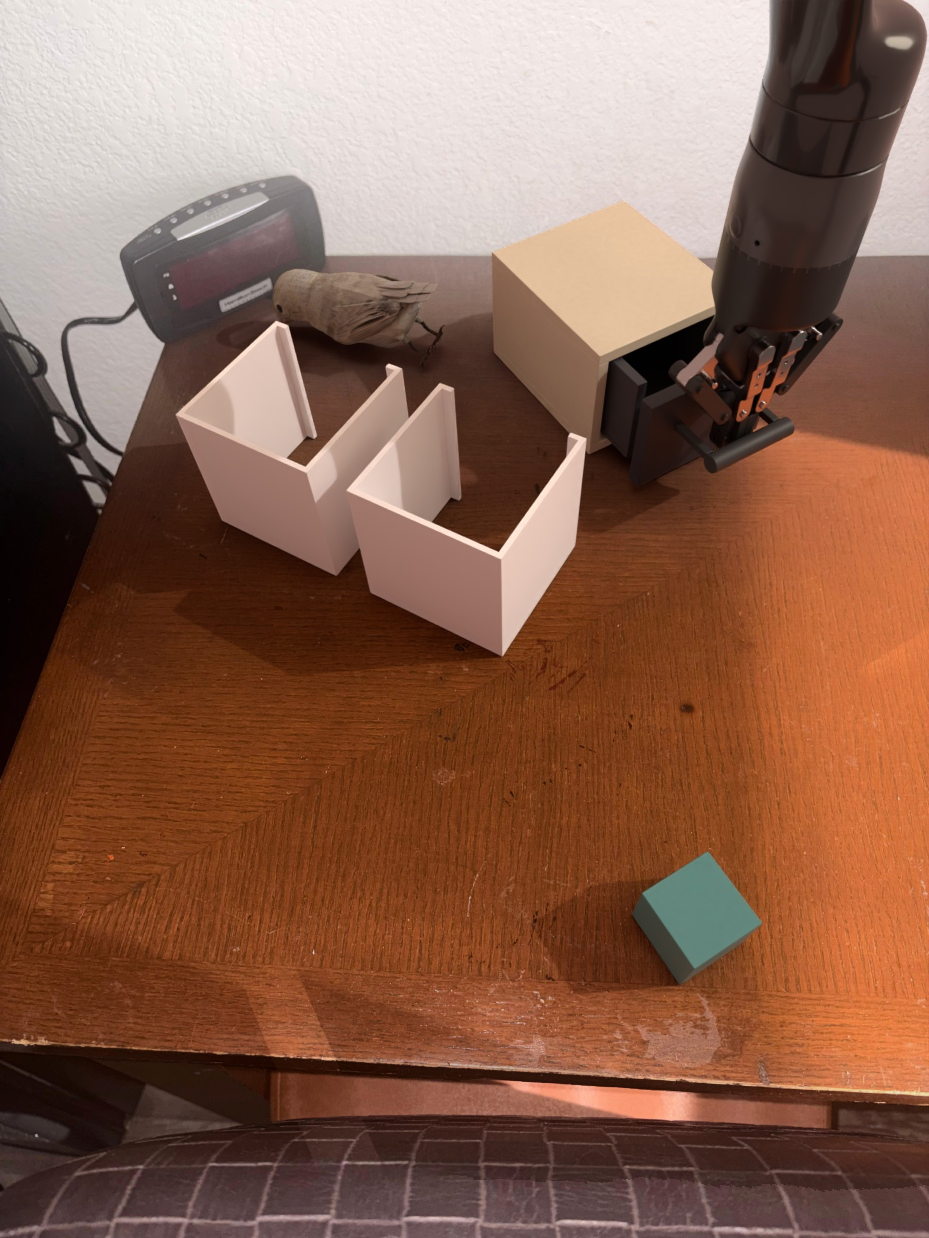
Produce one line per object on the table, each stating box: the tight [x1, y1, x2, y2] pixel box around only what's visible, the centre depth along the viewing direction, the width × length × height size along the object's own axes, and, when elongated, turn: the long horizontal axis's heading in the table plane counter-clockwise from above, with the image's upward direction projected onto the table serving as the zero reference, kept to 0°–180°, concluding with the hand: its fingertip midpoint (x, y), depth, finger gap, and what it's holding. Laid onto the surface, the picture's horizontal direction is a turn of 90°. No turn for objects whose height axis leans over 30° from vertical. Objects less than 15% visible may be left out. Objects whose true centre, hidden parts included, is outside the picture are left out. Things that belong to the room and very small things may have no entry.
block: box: [631, 851, 763, 986], centre depth 46 cm, size 4×4×4 cm
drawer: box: [600, 315, 795, 488], centre depth 65 cm, size 18×12×8 cm, turn 30°
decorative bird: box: [271, 268, 446, 374], centre depth 74 cm, size 5×16×8 cm, turn 68°
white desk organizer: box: [175, 320, 586, 657], centre depth 60 cm, size 25×11×11 cm, turn 59°
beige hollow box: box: [491, 200, 715, 455], centre depth 69 cm, size 15×13×10 cm
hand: (727, 445), depth 62 cm, fingers closed
